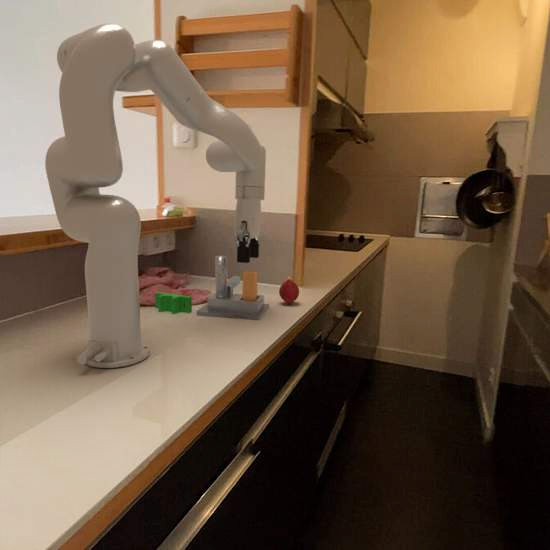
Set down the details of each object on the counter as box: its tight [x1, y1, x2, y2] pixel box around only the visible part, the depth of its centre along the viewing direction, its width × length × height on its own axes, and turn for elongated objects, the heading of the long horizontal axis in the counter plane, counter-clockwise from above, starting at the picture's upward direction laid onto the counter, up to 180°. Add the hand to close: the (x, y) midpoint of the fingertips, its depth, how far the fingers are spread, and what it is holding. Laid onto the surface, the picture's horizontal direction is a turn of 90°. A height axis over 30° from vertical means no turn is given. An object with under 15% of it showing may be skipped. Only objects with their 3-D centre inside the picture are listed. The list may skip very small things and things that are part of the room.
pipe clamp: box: [154, 291, 193, 315], centre depth 117 cm, size 11×4×5 cm, turn 67°
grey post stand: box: [195, 255, 270, 321], centre depth 121 cm, size 22×17×15 cm
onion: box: [278, 276, 300, 305], centre depth 125 cm, size 6×6×8 cm
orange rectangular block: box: [242, 270, 258, 301], centre depth 116 cm, size 3×3×10 cm
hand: (248, 259), depth 114 cm, fingers open, 9 cm apart
